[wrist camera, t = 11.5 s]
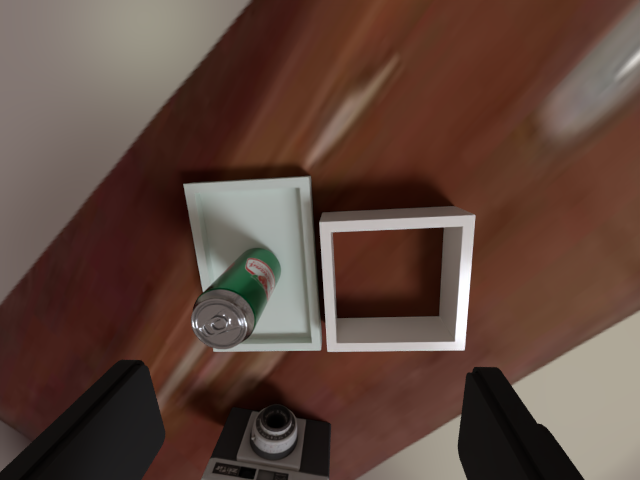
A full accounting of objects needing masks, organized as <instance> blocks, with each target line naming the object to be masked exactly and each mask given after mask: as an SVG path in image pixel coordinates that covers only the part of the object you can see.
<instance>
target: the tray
mask: <svg viewBox="0 0 640 480" xmlns="http://www.w3.org/2000/svg"><path fill="white" fill-rule="evenodd" d="M183 185H184V190H185V196H186V201H187V207H188V212H189V218H190V223H191V229H192V234H193V240H194V245H195V251H196V256H197V262H198V267H199V273H200V278H201V284H202V289H203V292H204V291H205V290H206V289H207V288H208V287H209V286H210V285H211V284H212V283H213V282H214V281H215V280H216V279H217V278H218V277H219V276H220V275H221V274H222V273H223V272H224V271H225V270H226V269H227V268H228V267H229V266H230V265H231V264H232V263H233V262H234V261H235V260H236V259H237V258H238V257H239V256H240V255H241V254H242V253H243V252H245V251H247V250H249V249H252V248H262V249H265V250H268V251H270V252H271V253H273V254H274V255H275V256H276V258H277V259H278V261H279V263H280V266H281V276H280V278H279V281H278V283H277V285H276V287H275V289H274V291H273V293H272V295H271V297H270V299H269V301H268V303H267V305H266V307H265V309H264V311H263V313H262V315H261V317H260V319H259V321H258V323H257V325H256V327H255V329H254V331H253V333H252V334H251V335H250V337H249V338H247V339H246V340H245V341H243V342H241V343H240V344H238V345H237V346H235V347H233V348H230V349H216V348H213V350H214V352H225V351H309V350H321V345H322V334H321V319H320V304H319V290H318V275H317V260H316V245H315V231H314V216H313V201H312V186H311V176H297V177H280V178H263V179H245V180H228V181H211V182H194V183H188V184H183Z"/></svg>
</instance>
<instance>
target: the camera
mask: <svg viewBox="0 0 640 480" xmlns="http://www.w3.org/2000/svg"><path fill="white" fill-rule="evenodd" d="M330 437H331V424H330V423H327V422H321V421H315V420H309V419H303V418H297V417H295V415H294V414H293V412H292V411H290V410H289V409H288V408H287V407H285V406H283V405H280V404H273V405H270V406H268V407H266V408H264V409H263V410H261V411H254V410H248V409H242V408H236V407H233V408H232V409H231V412H230V414H229V416H228V418H227V421H226V423H225V425H224V428H223V430H222V432H221V435H220V437H219V439H218V442H217V444H216V446H215V448H214V451H213V453H212V456H211V458H210V460H209V462H208V465H207V467H206V469H205V472H204V474H203V476H202V479H201V480H329V466H330Z"/></svg>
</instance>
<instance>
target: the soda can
mask: <svg viewBox="0 0 640 480" xmlns="http://www.w3.org/2000/svg"><path fill="white" fill-rule="evenodd" d="M280 276H281V266H280V263H279V261H278V259H277V258H276V256H275V255H274V254H273V253H271V252H270V251H268V250H265V249H262V248H252V249H249V250H247V251H245V252H243V253H242V254H241V255H240V256H239V257H238V258H237V259H236V260H235V261H234V262H233V263H232V264H231V265H230V266H229V267H228V268H227V269H226V270H225V271H224V272H223V273H222V274H221V275H220V276H219V277H218V278H217V279H216V280H215V281H214V282H213V283H212V284H211V285H210V286H209V287H208V288H207V289H206V290H205V291H204V292H203V293H202V294H201V295H200V296H199V297H198V299H197V300H196V302H195V304H194V307H193V313H192V317H191V325H192V329H193V331H194V333H195V335H196V336H197V337H198V339H199V340H200V341H202V342H203V343H204V344H206V345H207V346H210V347H212V348H216V349H230V348H233V347H235V346H237V345H238V344H240V343H241V342H243V341H245V340H246V339H247V338H249V337H250V335H251V334H252V333H253V331H254V329H255V327H256V325H257V323H258V321H259V319H260V317H261V315H262V313H263V311H264V309H265V307H266V305H267V303H268V301H269V299H270V297H271V295H272V293H273V291H274V289H275V287H276V285H277V283H278V281H279V278H280Z"/></svg>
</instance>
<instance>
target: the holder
mask: <svg viewBox="0 0 640 480" xmlns="http://www.w3.org/2000/svg"><path fill="white" fill-rule="evenodd" d="M319 225H320V241H321V256H322V272H323V288H324V304H325V320H326V336H327V352H350V351H436V350H465V338H466V326H467V313H468V301H469V288H470V276H471V263H472V251H473V238H474V226H475V215H474V214H472V213H470V212H467V211H465V210H463V209H460V208H458V207H456V206H445V207H425V208H404V209H383V210H363V211H342V212H322V215H321V219H320V222H319ZM439 227H444V233H443V252H442V271H441V290H440V309H439V316H426V317H377V318H337V309H336V289H335V270H334V250H333V232H346V231H369V230H392V229H415V228H439Z"/></svg>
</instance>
